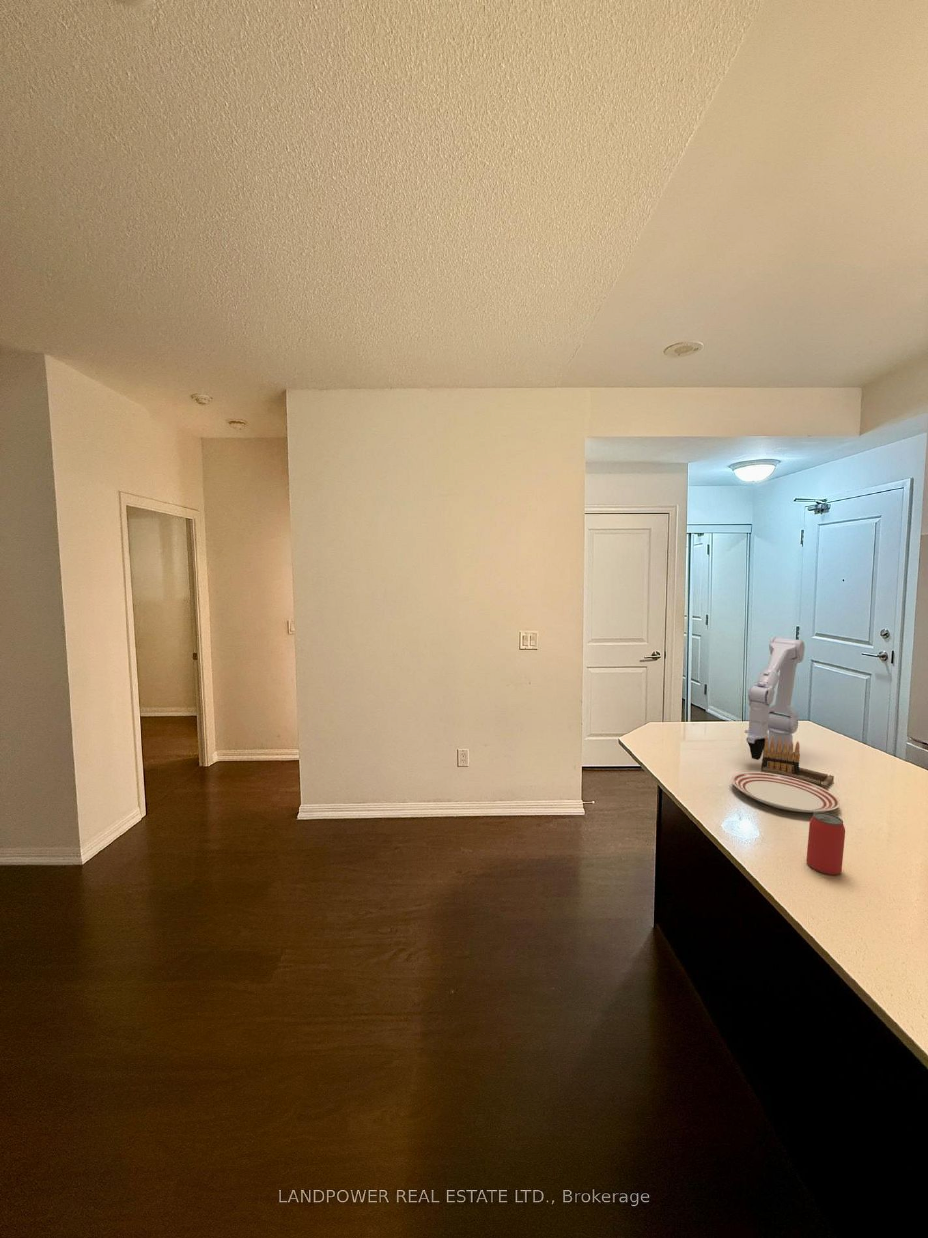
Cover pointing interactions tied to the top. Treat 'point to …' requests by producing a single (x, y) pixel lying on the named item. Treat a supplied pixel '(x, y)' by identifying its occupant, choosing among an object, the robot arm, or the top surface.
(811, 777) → the guide rails
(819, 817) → the beer can
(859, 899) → the top surface
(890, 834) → the top surface
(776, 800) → the dinner plate
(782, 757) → the ammunition clip
